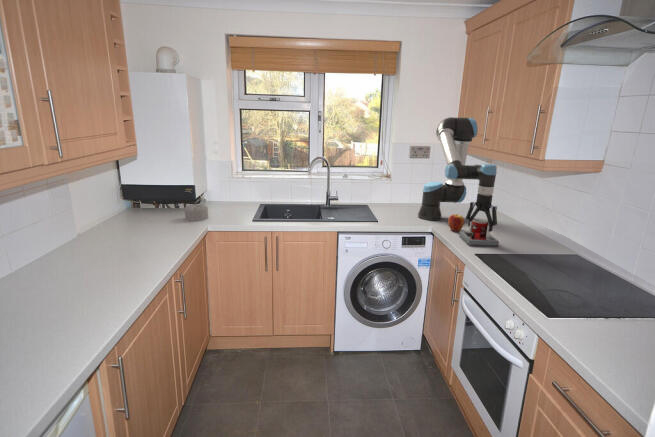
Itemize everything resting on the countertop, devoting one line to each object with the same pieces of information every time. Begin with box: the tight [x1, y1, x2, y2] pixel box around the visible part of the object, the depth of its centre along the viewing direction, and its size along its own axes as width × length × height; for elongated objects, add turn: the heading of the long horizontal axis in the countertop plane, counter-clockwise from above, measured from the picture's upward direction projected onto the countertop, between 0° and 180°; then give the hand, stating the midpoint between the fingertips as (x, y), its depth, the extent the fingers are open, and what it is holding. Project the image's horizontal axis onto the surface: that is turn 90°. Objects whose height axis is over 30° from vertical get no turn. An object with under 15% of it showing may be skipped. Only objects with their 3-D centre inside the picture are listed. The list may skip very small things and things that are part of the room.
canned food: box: [471, 218, 489, 240], centre depth 203 cm, size 8×8×11 cm
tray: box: [459, 230, 500, 248], centre depth 204 cm, size 16×16×3 cm
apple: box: [447, 213, 465, 232], centre depth 221 cm, size 9×9×10 cm
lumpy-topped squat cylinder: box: [184, 203, 209, 223], centre depth 229 cm, size 10×13×9 cm
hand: (479, 234), depth 203 cm, fingers open, 9 cm apart
